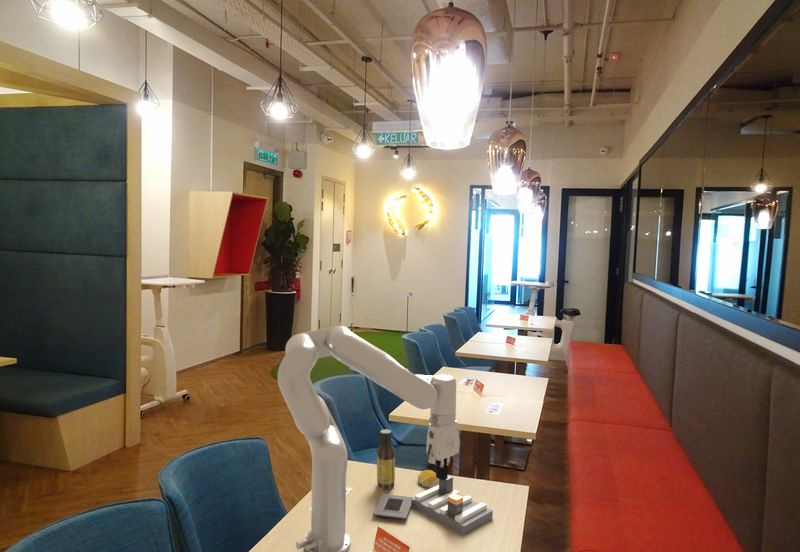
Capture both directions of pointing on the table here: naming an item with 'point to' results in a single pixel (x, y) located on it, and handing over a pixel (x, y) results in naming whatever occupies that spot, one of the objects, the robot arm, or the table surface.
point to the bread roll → (428, 479)
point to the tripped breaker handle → (455, 505)
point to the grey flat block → (393, 506)
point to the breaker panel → (438, 507)
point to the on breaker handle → (446, 485)
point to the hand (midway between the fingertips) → (441, 478)
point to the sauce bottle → (385, 461)
